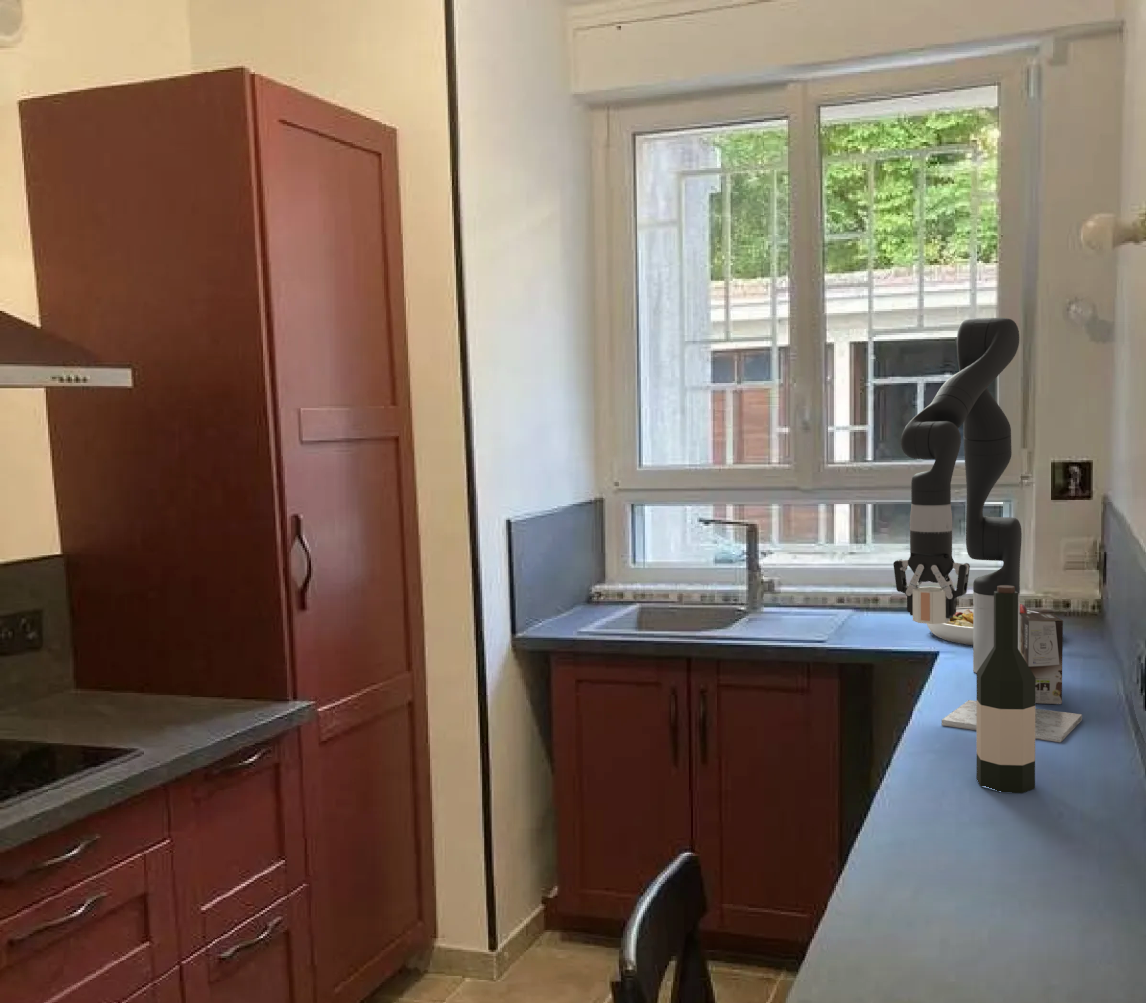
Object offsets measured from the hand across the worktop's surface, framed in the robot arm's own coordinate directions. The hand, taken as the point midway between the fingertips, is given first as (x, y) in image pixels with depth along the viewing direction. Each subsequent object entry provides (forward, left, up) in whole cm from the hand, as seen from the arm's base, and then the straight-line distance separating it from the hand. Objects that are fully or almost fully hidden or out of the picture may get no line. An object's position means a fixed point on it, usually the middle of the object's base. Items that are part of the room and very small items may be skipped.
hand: (931, 616), depth 209 cm
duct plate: (+3, +16, -18) cm, 24 cm away
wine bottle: (+37, +24, -18) cm, 47 cm away
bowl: (-72, -9, -18) cm, 75 cm away
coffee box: (-17, +16, -18) cm, 29 cm away
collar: (0, 0, -1) cm, 1 cm away
